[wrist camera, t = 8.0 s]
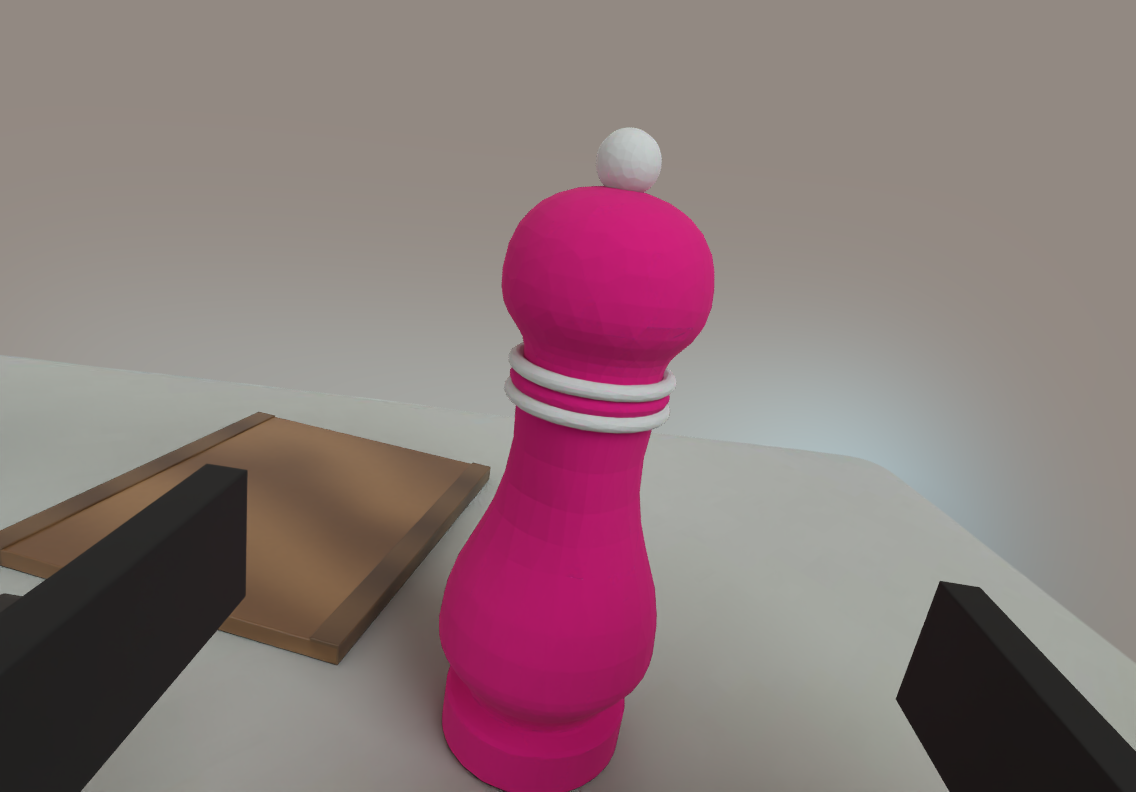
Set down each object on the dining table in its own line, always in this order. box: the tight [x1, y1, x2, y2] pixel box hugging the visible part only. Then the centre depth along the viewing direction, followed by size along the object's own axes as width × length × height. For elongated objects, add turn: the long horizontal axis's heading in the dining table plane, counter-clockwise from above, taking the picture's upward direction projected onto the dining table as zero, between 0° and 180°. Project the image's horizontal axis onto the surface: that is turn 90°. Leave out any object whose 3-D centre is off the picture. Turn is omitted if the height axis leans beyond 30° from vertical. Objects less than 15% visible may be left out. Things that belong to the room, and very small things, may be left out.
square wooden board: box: [0, 412, 490, 665], centre depth 35 cm, size 18×16×1 cm
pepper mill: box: [439, 128, 714, 792], centre depth 21 cm, size 7×7×20 cm
